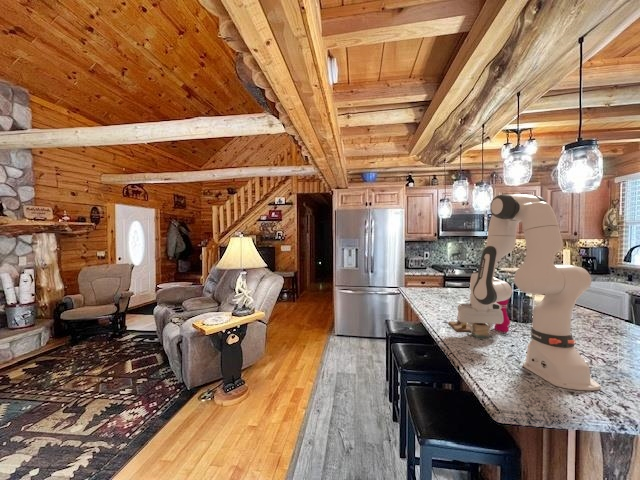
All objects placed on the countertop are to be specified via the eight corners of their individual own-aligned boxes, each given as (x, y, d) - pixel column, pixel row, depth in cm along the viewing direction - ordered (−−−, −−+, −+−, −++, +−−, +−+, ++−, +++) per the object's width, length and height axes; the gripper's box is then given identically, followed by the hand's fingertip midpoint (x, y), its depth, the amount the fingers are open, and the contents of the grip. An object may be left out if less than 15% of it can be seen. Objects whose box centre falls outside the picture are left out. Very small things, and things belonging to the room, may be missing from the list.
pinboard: (475, 332, 146) (475, 322, 146) (457, 331, 148) (457, 322, 148) (465, 323, 160) (465, 315, 160) (448, 323, 162) (448, 314, 162)
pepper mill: (505, 327, 154) (505, 290, 153) (512, 332, 146) (513, 293, 146) (490, 327, 154) (491, 290, 154) (497, 331, 147) (498, 293, 147)
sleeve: (488, 338, 138) (488, 325, 138) (476, 337, 139) (476, 325, 139) (483, 334, 144) (483, 322, 144) (471, 333, 145) (471, 321, 145)
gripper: (460, 304, 140) (459, 332, 140) (505, 306, 137) (505, 334, 137) (455, 301, 146) (455, 328, 146) (498, 302, 143) (498, 330, 143)
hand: (479, 331), depth 141 cm, fingers closed on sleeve, 6 cm apart
